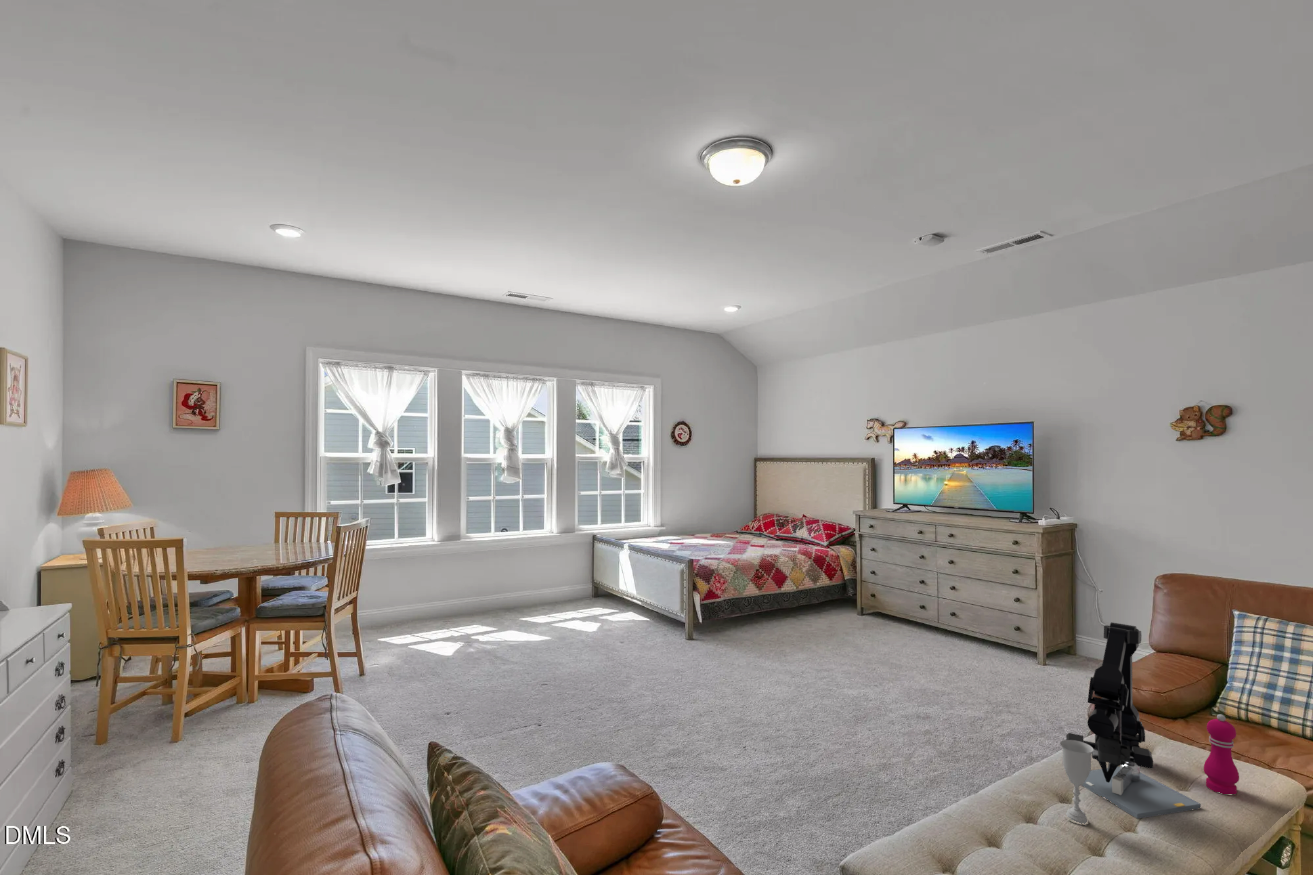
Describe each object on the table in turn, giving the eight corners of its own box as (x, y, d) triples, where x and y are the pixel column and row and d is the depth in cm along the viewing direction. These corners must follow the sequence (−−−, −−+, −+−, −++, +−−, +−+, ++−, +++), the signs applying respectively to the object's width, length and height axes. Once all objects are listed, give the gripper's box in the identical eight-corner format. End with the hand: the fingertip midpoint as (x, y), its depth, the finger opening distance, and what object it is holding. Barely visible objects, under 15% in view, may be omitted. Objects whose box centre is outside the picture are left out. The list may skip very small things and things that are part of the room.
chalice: (1082, 830, 155) (1082, 755, 155) (1053, 816, 161) (1053, 743, 161) (1099, 822, 159) (1099, 748, 159) (1071, 808, 165) (1071, 737, 165)
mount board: (1068, 777, 180) (1068, 772, 180) (1127, 769, 185) (1127, 764, 185) (1137, 818, 161) (1137, 813, 161) (1200, 808, 165) (1200, 803, 165)
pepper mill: (1246, 798, 170) (1246, 721, 170) (1214, 794, 172) (1214, 718, 172) (1227, 783, 177) (1227, 710, 177) (1197, 780, 179) (1197, 707, 179)
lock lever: (1122, 771, 180) (1122, 756, 180) (1141, 778, 177) (1141, 762, 177) (1106, 790, 171) (1106, 774, 171) (1126, 797, 168) (1126, 781, 168)
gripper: (1066, 727, 171) (1066, 785, 171) (1155, 745, 161) (1155, 807, 161) (1066, 711, 180) (1066, 767, 181) (1150, 727, 170) (1150, 786, 171)
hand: (1107, 781), depth 173 cm, fingers closed
